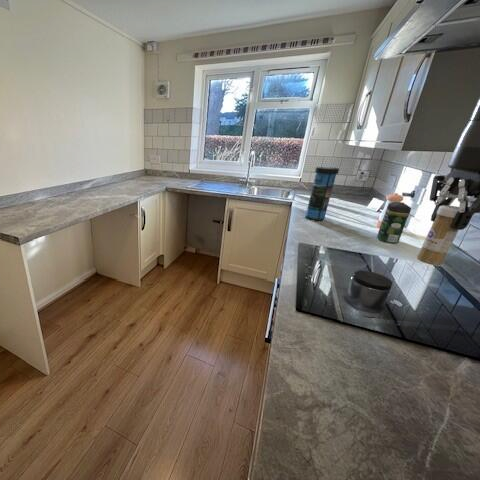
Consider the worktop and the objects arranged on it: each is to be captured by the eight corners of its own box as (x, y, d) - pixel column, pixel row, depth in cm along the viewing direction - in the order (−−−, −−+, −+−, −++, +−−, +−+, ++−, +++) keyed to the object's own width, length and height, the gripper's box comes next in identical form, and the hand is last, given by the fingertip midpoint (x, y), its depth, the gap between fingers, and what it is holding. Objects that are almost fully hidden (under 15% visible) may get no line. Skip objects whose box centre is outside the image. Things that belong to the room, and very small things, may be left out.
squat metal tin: (369, 300, 80) (380, 271, 76) (388, 319, 71) (402, 288, 67) (337, 297, 81) (346, 268, 77) (352, 316, 73) (364, 285, 69)
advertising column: (327, 218, 157) (341, 168, 145) (322, 223, 149) (336, 169, 138) (307, 215, 164) (319, 166, 152) (301, 218, 156) (313, 167, 145)
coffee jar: (374, 235, 132) (387, 199, 125) (394, 238, 128) (408, 201, 121) (378, 241, 124) (392, 204, 117) (399, 245, 121) (415, 206, 113)
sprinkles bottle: (411, 257, 64) (434, 204, 59) (429, 257, 64) (453, 204, 59) (428, 265, 60) (455, 210, 55) (448, 266, 60) (476, 210, 55)
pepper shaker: (385, 229, 140) (398, 194, 133) (372, 225, 146) (384, 192, 139) (395, 229, 141) (409, 194, 134) (382, 224, 148) (394, 191, 141)
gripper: (549, 147, 45) (498, 238, 52) (470, 144, 58) (437, 216, 65) (500, 146, 46) (455, 235, 52) (433, 143, 59) (404, 215, 66)
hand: (446, 224), depth 59 cm, fingers closed on sprinkles bottle, 4 cm apart
